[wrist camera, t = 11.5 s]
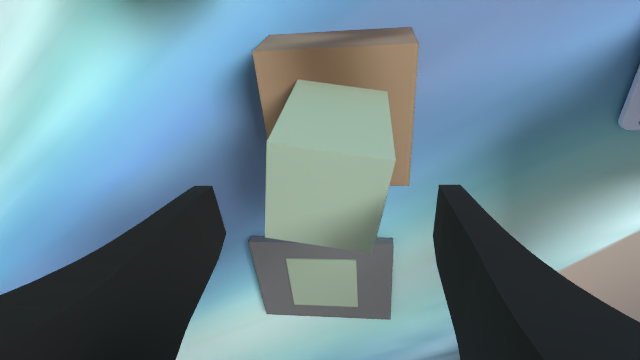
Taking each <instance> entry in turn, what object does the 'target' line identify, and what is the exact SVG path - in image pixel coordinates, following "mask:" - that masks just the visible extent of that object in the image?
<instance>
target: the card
mask: <svg viewBox="0 0 640 360" xmlns="http://www.w3.org/2000/svg"><path fill="white" fill-rule="evenodd" d="M249 246H250V250H251V254H252V258H253V262H254V266H255V270H256V273H257V277H258V281H259V285H260V289H261V293H262V297H263V301H264V305H265V309H266V313H267V314H276V315H298V316H321V317H344V318H367V319H390V318H391V291H392V264H393V238H376V241H375V245H374V249H373V253H372V254H371V253H364V252H358V251H351V250H345V249H338V248H331V247H325V246H318V245H312V244H305V243H298V242H292V241H285V240H279V239H272V238H265V236H251V237H250V239H249Z"/></svg>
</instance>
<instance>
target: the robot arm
mask: <svg viewBox="0 0 640 360" xmlns="http://www.w3.org/2000/svg"><path fill="white" fill-rule="evenodd" d="M639 120H640V65H639V68H638V71H637V73H636V76H635V78H634V81H633V83H632V86H631V88H630V91H629V94H628V96H627V99H626V101H625V104H624V106H623V109H622V111H621V114H620V117H619V119H618V124H619V125H620V126H621V127H622V128H624V129H625V130H640V122H639ZM225 235H226V231H225V228H224V224H223V221H222V217H221V214H220V211H219V207H218V204H217V200H216V197H215V194H214V190H213V187H212V186H194V187H192V188H191V189H189V190H187V191H186V192H184V193H183V194H181V195H180V196H178V197H177V198H175V199H174V200H173V201H171V202H170V203H168V204H167V205H165V206H164V207H163V208H161V209H160V210H158V211H157V212H155V213H154V214H153V215H151V216H150V217H148V218H147V219H145V220H144V221H142V222H141V223H139V224H138V225H136V226H135V227H133V228H132V229H130V230H128V231H127V232H125V233H124V234H122V235H121V236H119V237H118V238H116V239H115V240H113V241H111V242H110V243H108V244H106V245H105V246H103V247H101V248H99V249H98V250H96V251H94V252H92V253H90V254H88V255H87V256H85V257H83V258H81V259H79V260H77V261H75V262H73V263H72V264H69V265H67V266H65V267H63V268H61V269H59V270H57V271H55V272H53V273H50V274H48V275H46V276H44V277H42V278H40V279H38V280H36V281H33V282H31V283H29V284H26V285H24V286H21V287H19V288H17V289H14V290H12V291H9V292H7V293H4V294H2V295H0V360H176V357H177V354H178V351H179V348H180V345H181V342H182V340H183V337H184V334H185V331H186V329H187V326H188V324H189V322H190V319H191V317H192V315H193V313H194V311H195V309H196V306H197V304H198V302H199V300H200V298H201V296H202V294H203V292H204V289H205V287H206V285H207V283H208V281H209V279H210V277H211V274H212V272H213V270H214V268H215V266H216V263H217V261H218V259H219V256H220V252H221V249H222V246H223V242H224V239H225ZM433 240H434V247H435V255H436V262H437V267H438V271H439V275H440V278H441V282H442V286H443V290H444V293H445V297H446V301H447V304H448V308H449V312H450V315H451V319H452V323H453V326H454V330H455V334H456V339H457V343H458V348H459V354H460V360H640V322H638V321H636V320H634V319H632V318H630V317H629V316H627V315H625V314H623V313H621V312H620V311H618V310H616V309H615V308H613V307H611V306H609V305H608V304H606V303H604V302H602V301H601V300H599V299H598V298H596V297H594V296H593V295H591V294H590V293H588V292H587V291H585V290H583V289H582V288H580V287H578V286H577V285H575V284H574V283H572V282H571V281H569V280H568V279H566V278H565V277H563V276H562V275H561V274H559V273H558V272H556V271H555V270H554V269H552V268H551V267H550V266H548V265H547V264H545V263H544V262H543V261H541V260H540V259H539V258H537V257H536V256H535V255H534V254H532V253H531V252H530V251H529V250H527V249H526V248H525V247H524V246H523V245H521V244H520V243H519V242H518V241H517V240H516V239H514V238H513V237H512V236H511V235H510V234H509V233H508V232H506V231H505V230H504V229H503V228H502V227H501V226H500V225H499V224H498V223H497V222H496V221H495V220H494V219H493V218H492V217H491V216H490V215H489V214H488V213H487V212H486V211H485V210H484V209H483V208H482V207H481V206H480V205H479V204H478V203H477V202H476V201H475V200H474V199H473V198H472V197H471V196H470V194H469V193H468V192H467V191H466V190H465V189H464V188H463V187H462V186H461V185H439V189H438V197H437V206H436V215H435V223H434V232H433Z"/></svg>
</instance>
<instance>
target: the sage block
mask: <svg viewBox="0 0 640 360" xmlns="http://www.w3.org/2000/svg"><path fill="white" fill-rule="evenodd" d="M395 162H396V158H395V150H394V142H393V133H392V125H391V117H390V108H389V100H388V92H387V91H380V90H372V89H365V88H358V87H350V86H343V85H335V84H328V83H321V82H313V81H306V80H297V82H296V84H295V86H294V88H293V90H292V92H291V94H290V96H289V98H288V100H287V102H286V104H285V106H284V108H283V110H282V112H281V114H280V116H279V118H278V120H277V122H276V124H275V126H274V128H273V130H272V132H271V134H270V136H269V138H268V140H267V148H266V201H265V238H272V239H279V240H285V241H292V242H298V243H305V244H312V245H318V246H325V247H331V248H338V249H345V250H351V251H358V252H364V253H371V254H372V253H373V249H374V245H375V241H376V237H377V233H378V229H379V225H380V221H381V217H382V213H383V209H384V205H385V201H386V197H387V193H388V189H389V185H390V181H391V177H392V173H393V169H394V166H395Z"/></svg>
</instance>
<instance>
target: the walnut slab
mask: <svg viewBox="0 0 640 360" xmlns="http://www.w3.org/2000/svg"><path fill="white" fill-rule="evenodd" d="M418 48H419V43H418V40H417V38H416V36H415V34H414V32H413V29H412V27H401V28H383V29H366V30H348V31H331V32H313V33H296V34H278V35H269V36H267V37H266V38H265V39H264V40H263V41H262V42H261V43H260V44H259V45H258V46H257V47H256V48H255V49H254V50H253V51H252V53H253V59H254V65H255V71H256V76H257V82H258V88H259V94H260V100H261V105H262V111H263V117H264V123H265V128H266V134H267V140H268V138H269V136H270V134H271V132H272V130H273V128H274V126H275V124H276V122H277V120H278V118H279V116H280V114H281V112H282V110H283V108H284V106H285V104H286V102H287V100H288V98H289V96H290V94H291V92H292V90H293V88H294V86H295V84H296V82H297V80H306V81H313V82H321V83H328V84H335V85H343V86H350V87H358V88H365V89H372V90H380V91H387V92H388V100H389V108H390V117H391V125H392V133H393V142H394V150H395V158H396V162H395V166H394V169H393V173H392V177H391V181H390V185H389V186H409V178H410V163H411V149H412V134H413V120H414V105H415V91H416V76H417V62H418Z"/></svg>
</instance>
